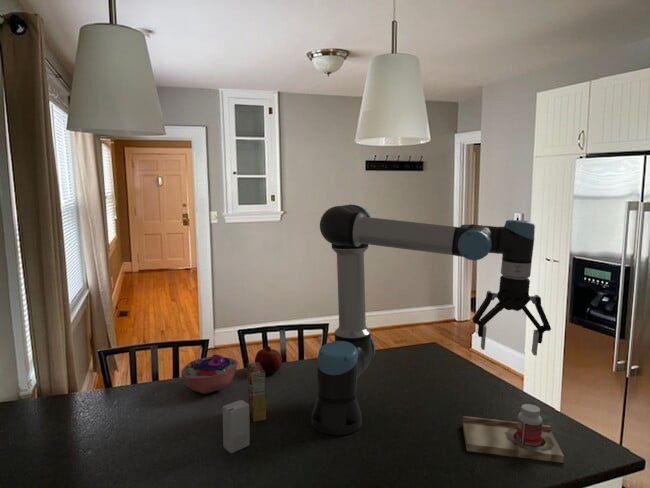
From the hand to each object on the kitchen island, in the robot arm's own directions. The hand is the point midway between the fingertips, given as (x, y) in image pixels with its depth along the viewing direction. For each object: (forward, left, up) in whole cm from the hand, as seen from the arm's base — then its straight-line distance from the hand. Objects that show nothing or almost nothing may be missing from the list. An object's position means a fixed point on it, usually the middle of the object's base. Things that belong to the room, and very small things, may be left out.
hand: (508, 350), depth 127 cm
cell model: (-95, +8, -25) cm, 98 cm away
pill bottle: (+6, -4, -25) cm, 26 cm away
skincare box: (-72, -23, -25) cm, 80 cm away
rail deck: (+1, -4, -25) cm, 26 cm away
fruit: (-80, +26, -25) cm, 88 cm away
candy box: (-73, -5, -25) cm, 77 cm away
